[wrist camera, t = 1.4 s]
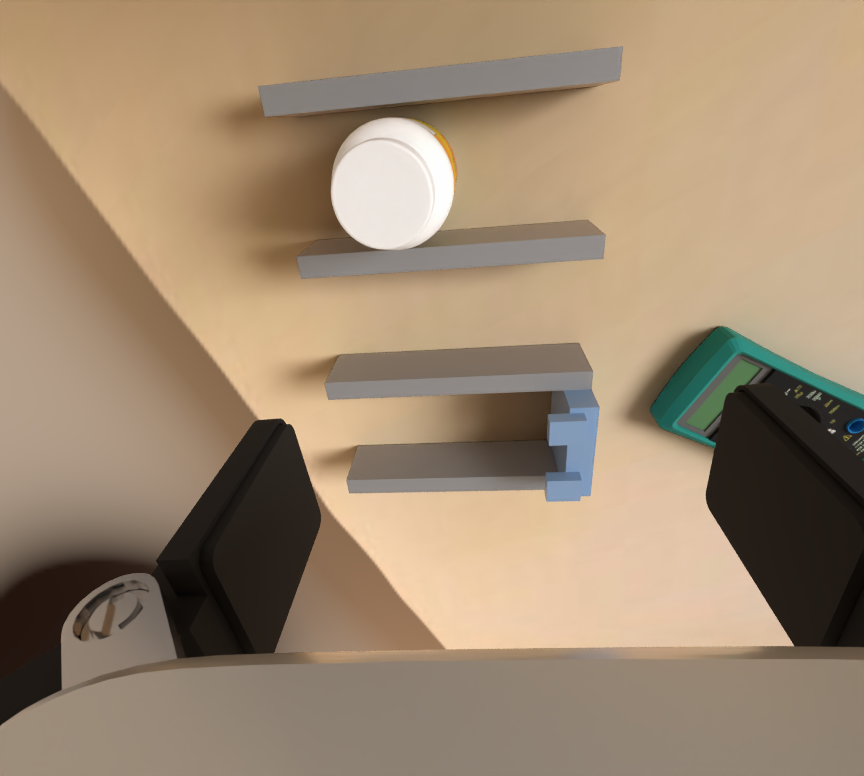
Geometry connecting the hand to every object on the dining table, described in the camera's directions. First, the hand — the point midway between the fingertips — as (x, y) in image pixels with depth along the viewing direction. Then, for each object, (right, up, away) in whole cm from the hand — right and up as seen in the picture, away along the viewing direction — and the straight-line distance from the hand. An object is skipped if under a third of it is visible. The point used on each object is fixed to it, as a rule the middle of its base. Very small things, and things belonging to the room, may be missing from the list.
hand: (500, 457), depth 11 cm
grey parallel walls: (0, +7, +20) cm, 21 cm away
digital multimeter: (+21, 0, +22) cm, 31 cm away
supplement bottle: (-3, +14, +16) cm, 21 cm away
